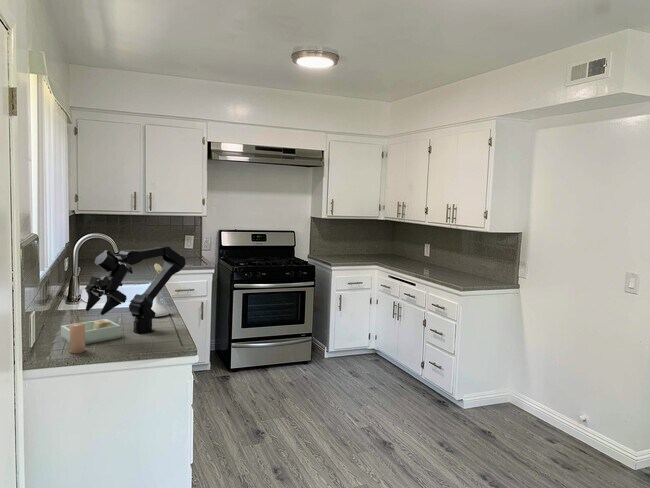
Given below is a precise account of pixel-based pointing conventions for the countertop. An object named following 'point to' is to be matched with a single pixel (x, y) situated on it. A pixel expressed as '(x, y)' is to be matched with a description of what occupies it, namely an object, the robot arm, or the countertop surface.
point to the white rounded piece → (158, 306)
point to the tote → (94, 332)
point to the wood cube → (102, 324)
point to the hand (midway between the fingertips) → (93, 312)
